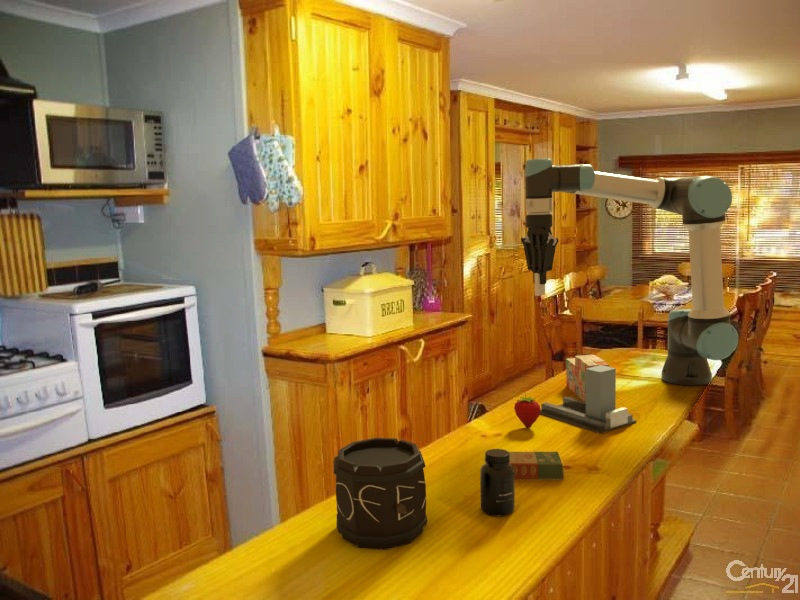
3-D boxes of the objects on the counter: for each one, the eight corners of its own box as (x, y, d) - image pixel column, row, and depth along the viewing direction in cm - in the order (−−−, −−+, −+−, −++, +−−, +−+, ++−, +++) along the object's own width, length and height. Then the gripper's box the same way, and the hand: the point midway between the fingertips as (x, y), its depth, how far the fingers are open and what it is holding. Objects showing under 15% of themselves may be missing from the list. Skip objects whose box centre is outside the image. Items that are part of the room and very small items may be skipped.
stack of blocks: (565, 386, 230) (565, 349, 228) (584, 385, 230) (584, 347, 228) (588, 406, 209) (588, 364, 207) (609, 404, 209) (609, 363, 207)
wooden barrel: (354, 563, 126) (350, 478, 123) (323, 521, 142) (319, 445, 139) (446, 539, 133) (443, 458, 130) (406, 503, 149) (403, 430, 146)
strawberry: (532, 433, 187) (532, 396, 185) (509, 427, 192) (508, 391, 191) (545, 428, 191) (545, 391, 189) (523, 422, 196) (522, 386, 195)
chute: (571, 403, 212) (571, 388, 211) (636, 422, 193) (636, 405, 192) (537, 413, 204) (537, 397, 203) (601, 433, 185) (601, 416, 184)
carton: (489, 467, 167) (488, 450, 166) (559, 467, 165) (559, 449, 165) (490, 481, 158) (489, 463, 158) (563, 481, 157) (563, 463, 156)
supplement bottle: (506, 520, 139) (505, 461, 138) (475, 513, 143) (473, 455, 141) (520, 506, 145) (519, 449, 143) (489, 499, 149) (488, 444, 147)
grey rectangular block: (600, 414, 197) (600, 365, 195) (615, 418, 193) (615, 368, 191) (585, 419, 194) (585, 368, 192) (600, 423, 190) (600, 372, 188)
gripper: (513, 214, 208) (515, 294, 212) (546, 214, 198) (547, 298, 201) (532, 212, 213) (533, 291, 216) (565, 213, 202) (565, 295, 205)
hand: (539, 295), depth 209 cm, fingers closed
